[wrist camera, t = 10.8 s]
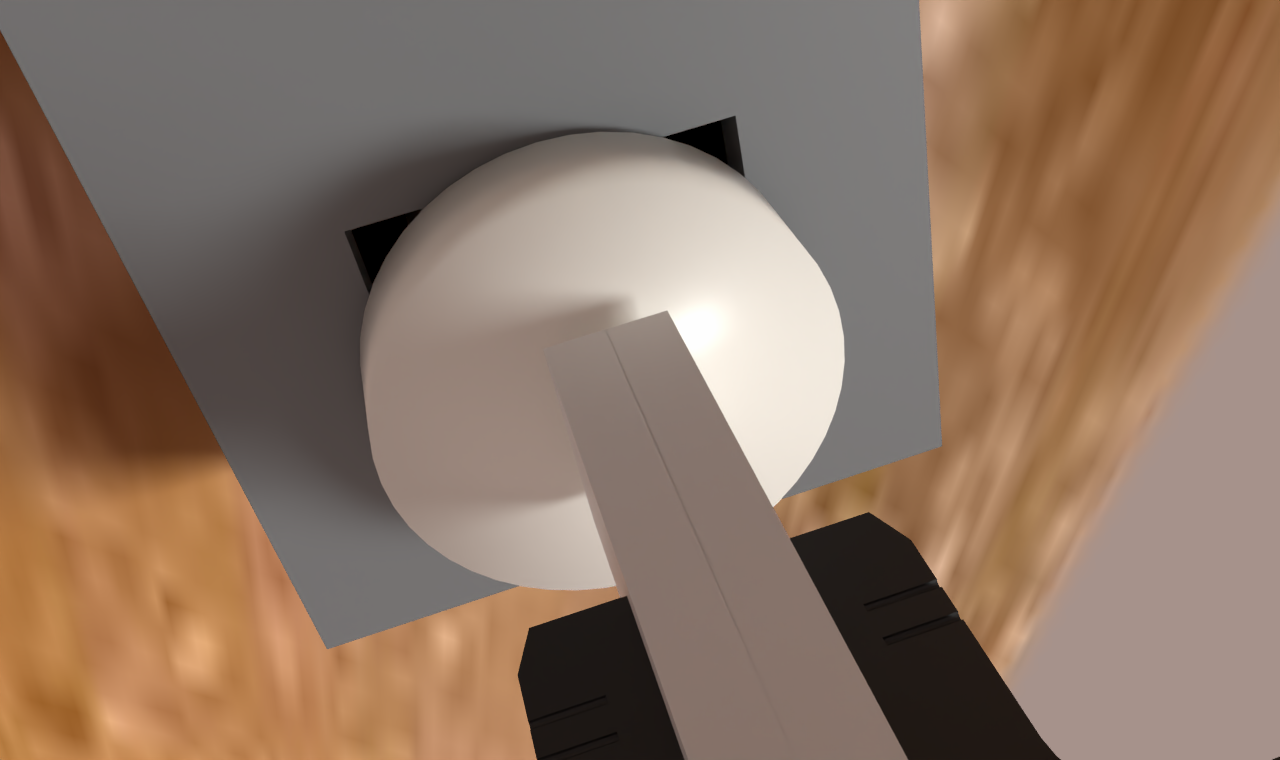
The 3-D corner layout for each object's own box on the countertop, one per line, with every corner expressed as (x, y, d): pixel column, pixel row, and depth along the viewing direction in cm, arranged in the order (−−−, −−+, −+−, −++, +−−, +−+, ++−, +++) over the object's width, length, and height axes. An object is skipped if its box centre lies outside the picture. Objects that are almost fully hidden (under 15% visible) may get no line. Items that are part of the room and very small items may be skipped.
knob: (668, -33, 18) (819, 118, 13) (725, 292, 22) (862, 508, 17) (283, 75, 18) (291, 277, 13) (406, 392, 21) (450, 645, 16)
